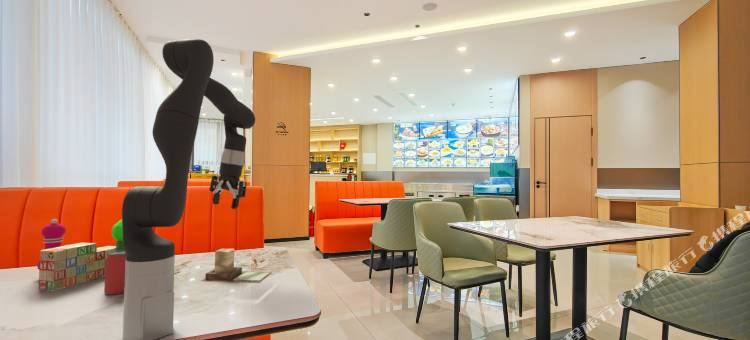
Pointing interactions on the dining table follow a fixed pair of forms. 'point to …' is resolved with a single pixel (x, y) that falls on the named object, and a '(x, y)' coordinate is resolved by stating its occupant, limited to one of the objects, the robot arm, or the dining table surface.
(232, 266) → the maple block
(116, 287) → the beer can
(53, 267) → the stack of blocks
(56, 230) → the pepper mill
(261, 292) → the dining table surface
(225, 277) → the puzzle board
